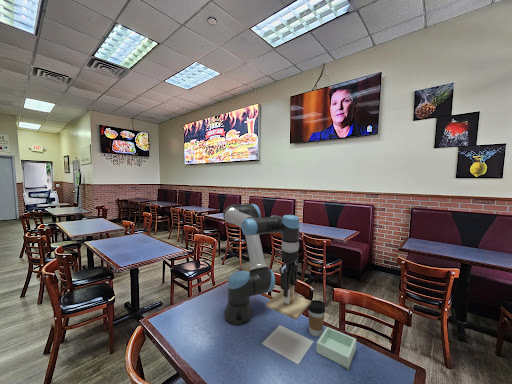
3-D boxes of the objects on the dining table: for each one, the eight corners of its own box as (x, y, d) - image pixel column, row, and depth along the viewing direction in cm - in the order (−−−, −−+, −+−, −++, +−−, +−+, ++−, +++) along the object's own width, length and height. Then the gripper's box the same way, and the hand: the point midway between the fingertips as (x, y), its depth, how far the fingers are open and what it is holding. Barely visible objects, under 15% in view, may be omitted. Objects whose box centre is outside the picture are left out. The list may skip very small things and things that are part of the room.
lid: (265, 306, 96) (265, 288, 96) (282, 292, 108) (282, 276, 108) (296, 319, 87) (296, 300, 87) (310, 303, 99) (311, 286, 98)
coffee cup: (325, 340, 100) (326, 309, 100) (306, 338, 102) (307, 307, 101) (323, 328, 108) (324, 299, 108) (306, 326, 110) (307, 297, 109)
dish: (316, 353, 93) (316, 342, 92) (326, 336, 103) (327, 326, 103) (348, 370, 85) (348, 357, 84) (356, 349, 95) (356, 338, 95)
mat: (261, 344, 97) (261, 343, 97) (279, 326, 110) (279, 325, 110) (298, 365, 86) (298, 364, 86) (313, 342, 99) (313, 341, 99)
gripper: (288, 257, 87) (286, 313, 89) (305, 247, 101) (304, 296, 102) (272, 253, 92) (271, 306, 93) (291, 244, 105) (289, 291, 106)
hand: (288, 300), depth 97 cm, fingers closed on lid, 3 cm apart
